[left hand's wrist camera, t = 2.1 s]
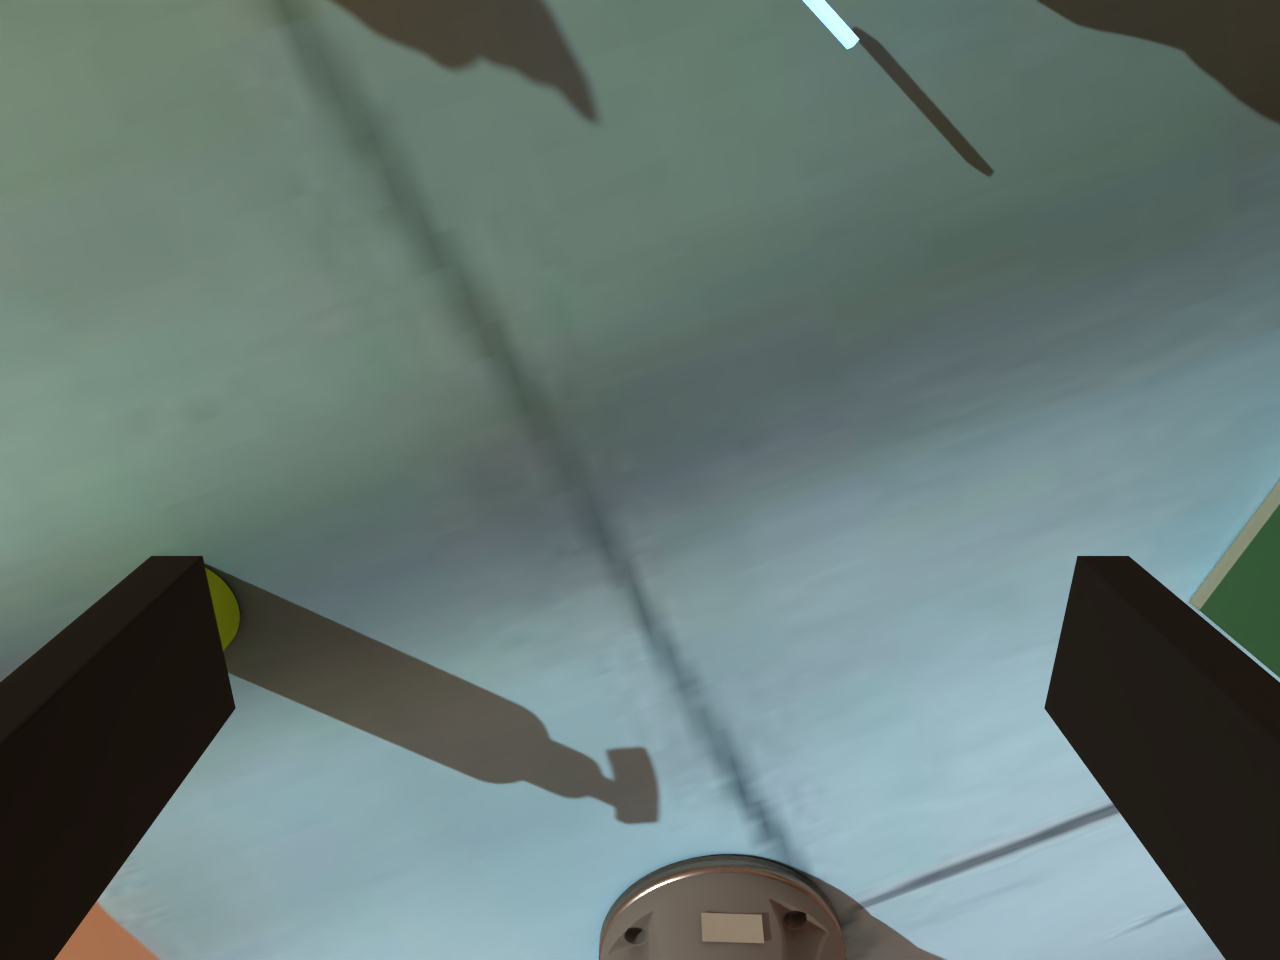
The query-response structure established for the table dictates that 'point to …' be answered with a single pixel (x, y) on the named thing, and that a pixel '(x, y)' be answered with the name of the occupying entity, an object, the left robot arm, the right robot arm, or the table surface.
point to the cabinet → (1249, 586)
